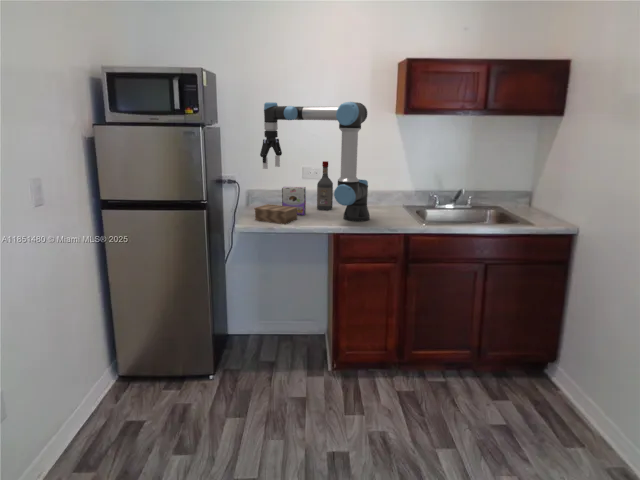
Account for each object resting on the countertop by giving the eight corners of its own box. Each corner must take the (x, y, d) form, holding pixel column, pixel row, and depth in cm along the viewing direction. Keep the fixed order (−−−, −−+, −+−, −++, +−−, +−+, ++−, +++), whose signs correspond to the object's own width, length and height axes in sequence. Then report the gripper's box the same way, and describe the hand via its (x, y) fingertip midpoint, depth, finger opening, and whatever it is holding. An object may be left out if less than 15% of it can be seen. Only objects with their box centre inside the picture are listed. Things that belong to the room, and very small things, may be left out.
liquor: (330, 210, 302) (331, 162, 295) (316, 210, 304) (316, 162, 296) (332, 208, 311) (333, 161, 304) (318, 207, 313) (319, 160, 305)
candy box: (306, 213, 293) (306, 186, 288) (304, 215, 287) (304, 188, 283) (283, 213, 294) (283, 186, 290) (281, 214, 288) (281, 187, 284)
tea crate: (297, 219, 276) (297, 207, 274) (285, 224, 264) (285, 211, 262) (267, 216, 285) (267, 204, 283) (254, 221, 272) (254, 208, 271)
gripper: (276, 129, 289) (276, 165, 294) (253, 130, 267) (254, 169, 272) (287, 130, 286) (287, 166, 291) (264, 131, 264) (265, 170, 269)
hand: (271, 167), depth 282 cm, fingers open, 13 cm apart
